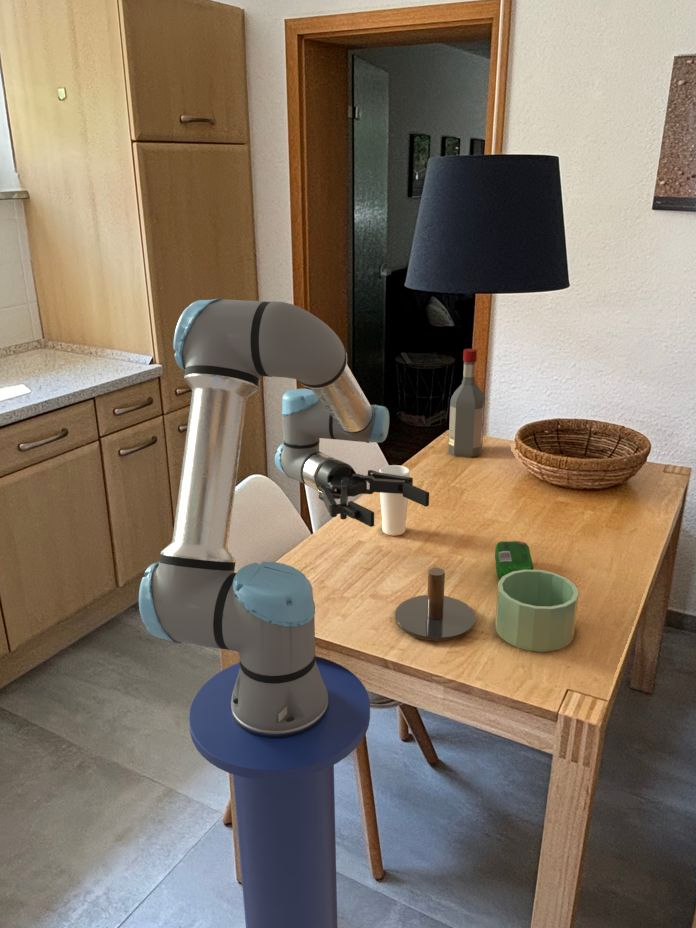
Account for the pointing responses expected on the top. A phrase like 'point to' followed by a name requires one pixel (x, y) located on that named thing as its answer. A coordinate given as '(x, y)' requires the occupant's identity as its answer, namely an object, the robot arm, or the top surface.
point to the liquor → (467, 412)
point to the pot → (536, 610)
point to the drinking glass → (394, 504)
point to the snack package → (512, 557)
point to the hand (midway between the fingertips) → (401, 509)
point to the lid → (435, 612)
